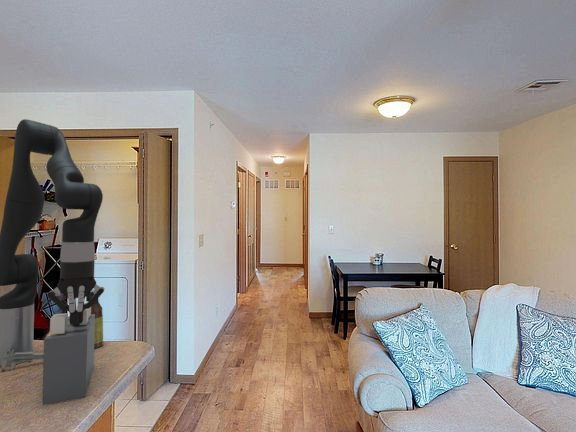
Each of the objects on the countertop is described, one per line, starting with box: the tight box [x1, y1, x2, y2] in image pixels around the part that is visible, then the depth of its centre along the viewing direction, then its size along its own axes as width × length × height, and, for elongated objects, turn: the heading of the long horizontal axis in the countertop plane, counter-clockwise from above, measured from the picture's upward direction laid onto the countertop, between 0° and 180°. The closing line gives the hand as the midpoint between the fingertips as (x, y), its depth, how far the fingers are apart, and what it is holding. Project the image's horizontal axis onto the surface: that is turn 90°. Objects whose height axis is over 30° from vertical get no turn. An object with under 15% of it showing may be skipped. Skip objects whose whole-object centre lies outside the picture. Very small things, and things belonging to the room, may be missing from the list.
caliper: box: [1, 349, 44, 372], centre depth 102 cm, size 20×1×6 cm, turn 127°
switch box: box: [41, 314, 95, 406], centre depth 90 cm, size 9×19×16 cm, turn 25°
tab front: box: [49, 312, 69, 335], centre depth 84 cm, size 3×4×4 cm
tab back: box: [76, 300, 91, 318], centre depth 96 cm, size 3×4×4 cm
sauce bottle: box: [85, 288, 104, 350], centre depth 115 cm, size 7×6×20 cm
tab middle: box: [76, 306, 89, 325], centre depth 91 cm, size 3×4×4 cm
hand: (76, 325), depth 85 cm, fingers closed
